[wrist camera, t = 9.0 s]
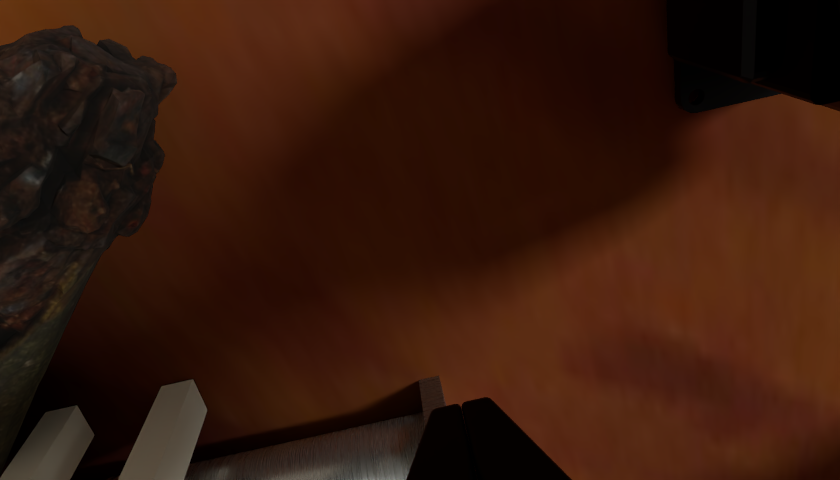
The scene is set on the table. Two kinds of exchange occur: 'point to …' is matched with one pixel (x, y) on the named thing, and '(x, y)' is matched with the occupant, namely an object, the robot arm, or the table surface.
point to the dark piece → (65, 188)
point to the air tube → (333, 451)
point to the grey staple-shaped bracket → (152, 452)
